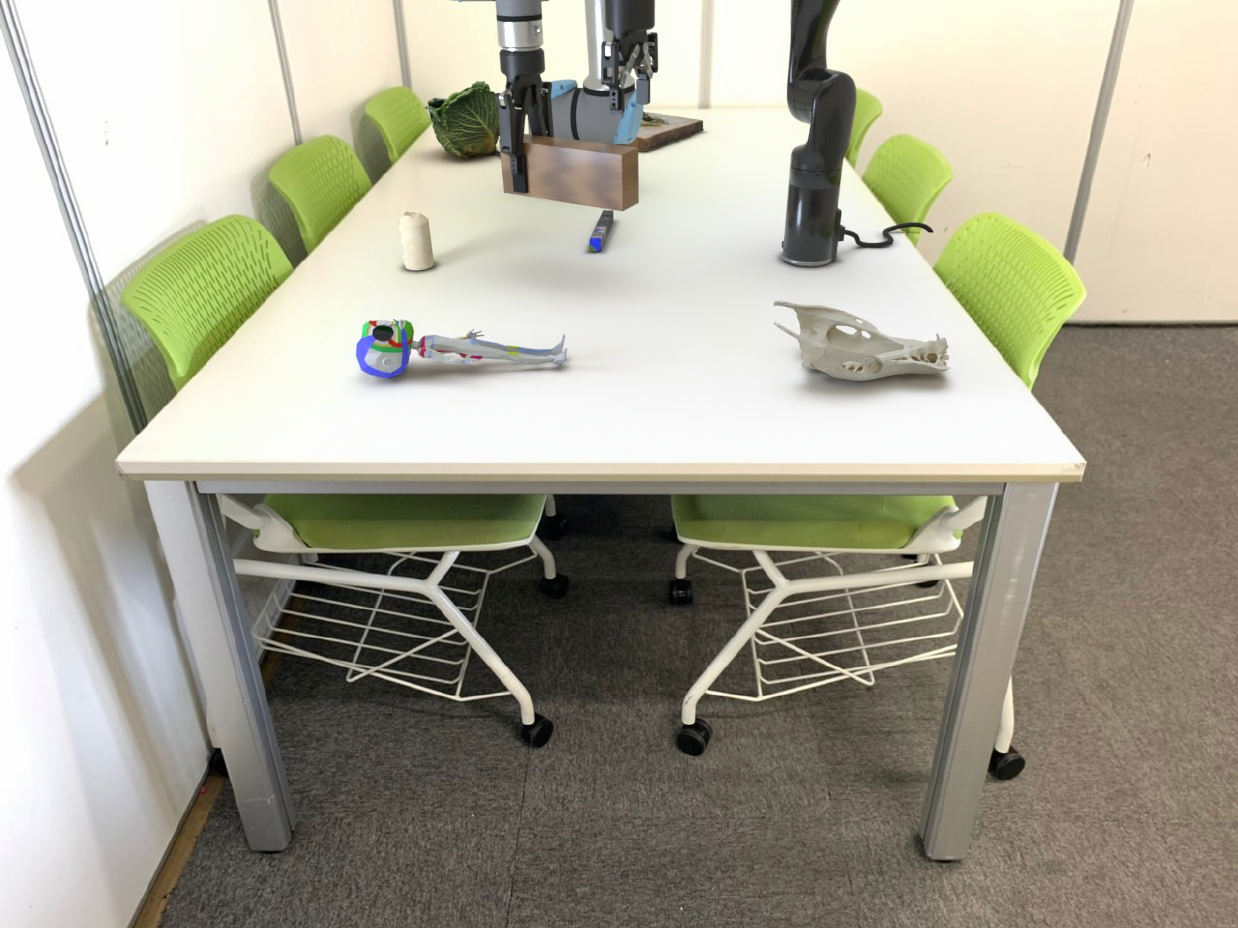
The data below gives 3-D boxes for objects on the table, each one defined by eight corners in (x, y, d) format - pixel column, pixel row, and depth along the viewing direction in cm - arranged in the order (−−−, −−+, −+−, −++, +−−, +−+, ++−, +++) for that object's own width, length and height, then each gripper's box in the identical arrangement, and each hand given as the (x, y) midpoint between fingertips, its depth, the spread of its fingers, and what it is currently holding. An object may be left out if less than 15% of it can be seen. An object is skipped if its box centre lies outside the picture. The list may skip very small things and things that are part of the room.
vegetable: (457, 176, 250) (415, 110, 242) (515, 138, 251) (474, 71, 243) (465, 176, 232) (420, 104, 224) (527, 135, 233) (484, 62, 225)
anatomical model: (773, 291, 133) (948, 293, 129) (771, 347, 137) (939, 351, 134) (773, 333, 120) (966, 337, 116) (770, 393, 125) (955, 399, 121)
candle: (439, 262, 170) (432, 209, 165) (425, 272, 166) (417, 218, 161) (414, 259, 172) (406, 207, 167) (399, 269, 168) (391, 216, 162)
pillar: (613, 210, 190) (600, 241, 173) (613, 220, 191) (600, 251, 174) (603, 210, 190) (589, 240, 173) (603, 220, 191) (589, 251, 174)
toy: (569, 347, 126) (349, 329, 122) (563, 400, 131) (350, 385, 126) (565, 318, 135) (359, 301, 130) (559, 369, 139) (360, 354, 134)
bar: (503, 192, 162) (498, 139, 157) (521, 185, 166) (517, 133, 161) (622, 211, 151) (621, 155, 146) (638, 203, 155) (638, 147, 150)
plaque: (647, 125, 237) (559, 112, 252) (647, 153, 241) (560, 139, 256) (706, 107, 258) (622, 97, 273) (705, 133, 262) (622, 121, 277)
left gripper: (506, 57, 141) (517, 204, 154) (570, 42, 155) (576, 178, 167) (468, 54, 145) (482, 198, 157) (535, 39, 158) (543, 173, 170)
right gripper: (628, -1, 127) (629, 119, 135) (673, -10, 137) (671, 103, 146) (583, -3, 130) (587, 115, 139) (630, -11, 140) (631, 99, 149)
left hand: (531, 187), depth 162 cm, fingers closed on bar, 5 cm apart
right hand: (630, 108), depth 142 cm, fingers open, 8 cm apart
